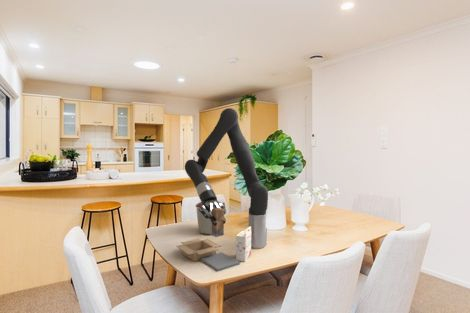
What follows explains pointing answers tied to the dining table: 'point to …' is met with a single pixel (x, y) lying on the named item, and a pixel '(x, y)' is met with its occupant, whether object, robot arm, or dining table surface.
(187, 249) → the carton
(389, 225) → the dining table surface
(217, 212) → the walnut block
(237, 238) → the ink cartridge box
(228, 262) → the mat
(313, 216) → the dining table surface
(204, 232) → the canister
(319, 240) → the dining table surface
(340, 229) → the dining table surface
